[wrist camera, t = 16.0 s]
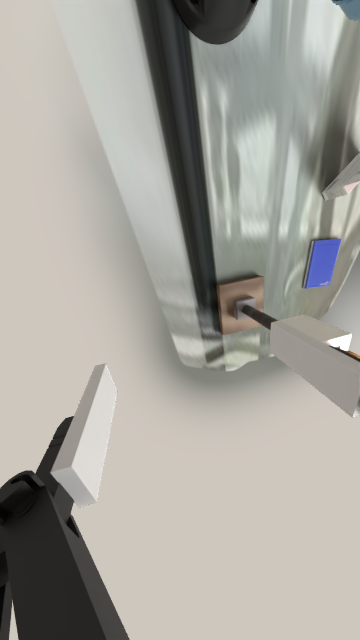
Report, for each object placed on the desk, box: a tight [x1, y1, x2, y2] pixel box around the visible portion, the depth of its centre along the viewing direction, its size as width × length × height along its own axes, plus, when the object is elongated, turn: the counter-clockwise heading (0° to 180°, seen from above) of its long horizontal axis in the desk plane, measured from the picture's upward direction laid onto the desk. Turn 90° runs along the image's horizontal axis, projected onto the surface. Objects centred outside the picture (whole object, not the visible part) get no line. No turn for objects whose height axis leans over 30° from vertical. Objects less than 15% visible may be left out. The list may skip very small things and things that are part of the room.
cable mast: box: [216, 276, 360, 358], centre depth 32 cm, size 14×12×36 cm
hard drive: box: [303, 239, 341, 288], centre depth 49 cm, size 2×8×12 cm
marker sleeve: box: [280, 314, 352, 351], centre depth 29 cm, size 6×6×8 cm
